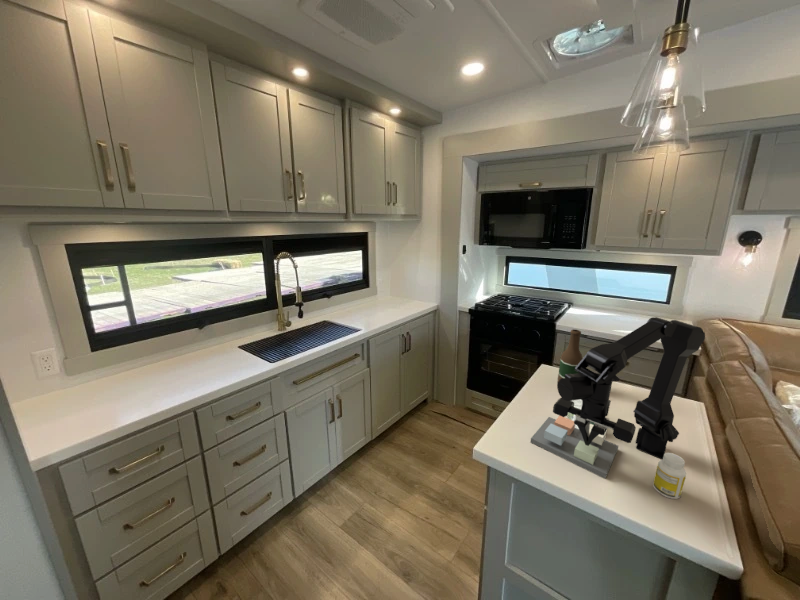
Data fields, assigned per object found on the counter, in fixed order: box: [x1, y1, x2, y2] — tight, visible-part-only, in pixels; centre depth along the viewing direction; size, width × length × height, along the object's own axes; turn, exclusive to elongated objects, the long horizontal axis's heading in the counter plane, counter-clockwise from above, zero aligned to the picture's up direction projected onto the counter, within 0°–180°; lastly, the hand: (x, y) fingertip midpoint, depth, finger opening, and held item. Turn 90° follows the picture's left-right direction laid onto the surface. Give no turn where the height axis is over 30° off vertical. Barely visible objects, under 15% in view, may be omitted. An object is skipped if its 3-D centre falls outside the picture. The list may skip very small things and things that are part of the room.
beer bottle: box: [557, 329, 584, 384], centre depth 128 cm, size 8×8×24 cm
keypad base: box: [529, 416, 619, 479], centre depth 96 cm, size 20×15×2 cm
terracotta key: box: [554, 415, 576, 436], centre depth 101 cm, size 5×5×2 cm
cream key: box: [589, 424, 608, 445], centre depth 95 cm, size 5×5×2 cm
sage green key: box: [574, 440, 599, 465], centre depth 90 cm, size 5×5×2 cm
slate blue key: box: [544, 424, 567, 446], centre depth 95 cm, size 5×5×2 cm
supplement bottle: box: [652, 452, 687, 500], centre depth 79 cm, size 5×5×10 cm
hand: (587, 444), depth 89 cm, fingers closed
